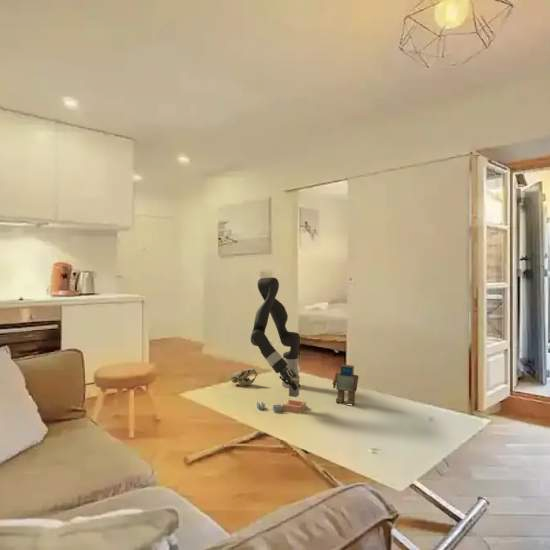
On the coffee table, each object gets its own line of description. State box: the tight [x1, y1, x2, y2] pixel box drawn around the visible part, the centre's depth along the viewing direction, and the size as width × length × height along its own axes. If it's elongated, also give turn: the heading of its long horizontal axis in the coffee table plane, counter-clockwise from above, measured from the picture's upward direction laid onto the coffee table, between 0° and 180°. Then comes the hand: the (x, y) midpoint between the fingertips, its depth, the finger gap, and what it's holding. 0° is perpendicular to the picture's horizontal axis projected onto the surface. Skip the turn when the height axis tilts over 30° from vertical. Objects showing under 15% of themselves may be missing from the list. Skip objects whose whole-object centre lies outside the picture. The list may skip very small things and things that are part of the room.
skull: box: [230, 368, 258, 387], centre depth 260 cm, size 10×16×10 cm, turn 88°
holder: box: [281, 399, 308, 414], centre depth 218 cm, size 11×11×3 cm
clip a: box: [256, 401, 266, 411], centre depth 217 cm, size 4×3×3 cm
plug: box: [288, 373, 301, 398], centre depth 218 cm, size 4×4×12 cm
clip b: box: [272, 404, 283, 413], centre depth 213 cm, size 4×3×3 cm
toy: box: [332, 364, 359, 404], centre depth 230 cm, size 13×10×20 cm
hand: (297, 388), depth 217 cm, fingers closed on plug, 4 cm apart
